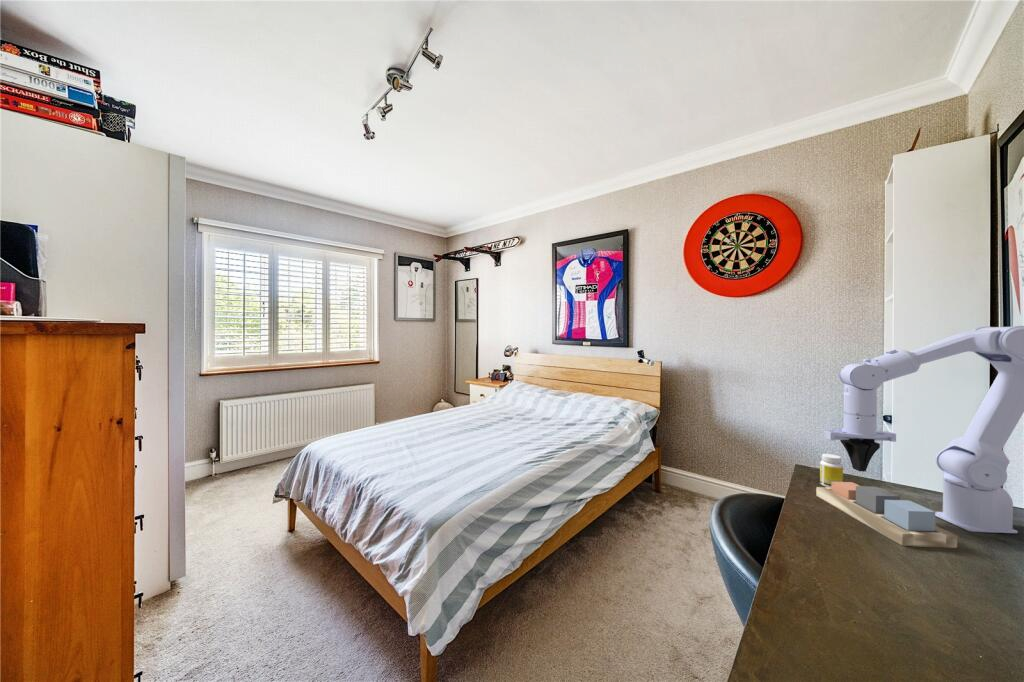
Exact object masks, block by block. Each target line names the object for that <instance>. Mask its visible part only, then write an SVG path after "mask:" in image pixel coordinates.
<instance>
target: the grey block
mask: <svg viewBox="0 0 1024 682" xmlns="http://www.w3.org/2000/svg"><path fill="white" fill-rule="evenodd" d="M885 500H901V496H900V495H898V494H896V493H894V492H892V491H890V490H887V489H885V488H882V487H880V486H870V485H869V486H868V485H867V486H866V485H859V486H856V503H857V504H859V505H860V506H862V507H864V508H866V509H868V510H870V511H872V512H874V513H876V514H884V508H885Z"/></svg>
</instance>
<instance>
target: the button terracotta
mask: <svg viewBox="0 0 1024 682" xmlns="http://www.w3.org/2000/svg"><path fill="white" fill-rule="evenodd" d="M856 486H860V485H859V484H857V483H855V482H852V481H843V482H831V491H833V492H835V493H836V494H838V495H840V496H842V497H844V498H846V499H848V500H856Z"/></svg>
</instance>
